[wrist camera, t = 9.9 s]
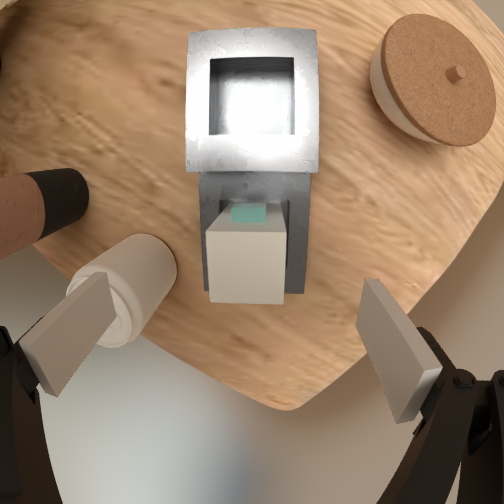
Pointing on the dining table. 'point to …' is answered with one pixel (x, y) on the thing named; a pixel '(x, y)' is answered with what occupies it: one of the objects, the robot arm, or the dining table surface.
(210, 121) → the grey stepped socket block
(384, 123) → the dining table surface
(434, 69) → the lidded bowl
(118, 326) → the beverage can
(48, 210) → the travel mug
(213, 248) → the plug
